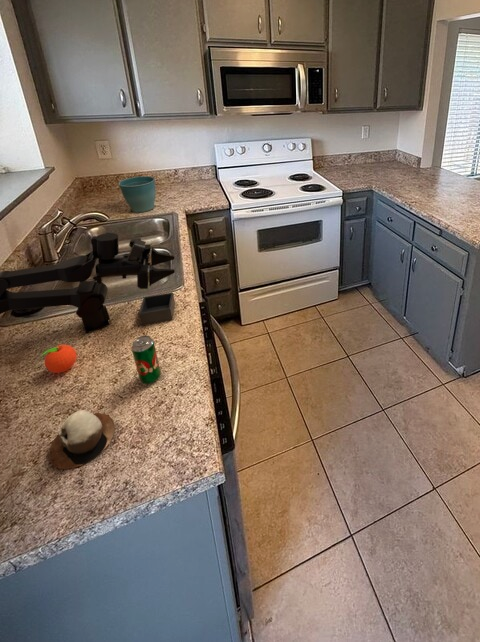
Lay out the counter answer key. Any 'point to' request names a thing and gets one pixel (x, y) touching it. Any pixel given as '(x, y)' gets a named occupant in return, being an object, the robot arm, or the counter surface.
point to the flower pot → (139, 193)
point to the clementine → (60, 358)
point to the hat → (81, 439)
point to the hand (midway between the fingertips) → (174, 264)
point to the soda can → (146, 359)
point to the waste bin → (157, 308)
